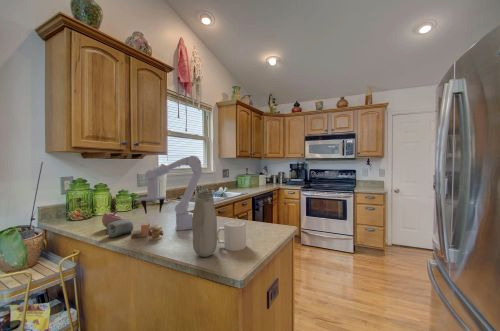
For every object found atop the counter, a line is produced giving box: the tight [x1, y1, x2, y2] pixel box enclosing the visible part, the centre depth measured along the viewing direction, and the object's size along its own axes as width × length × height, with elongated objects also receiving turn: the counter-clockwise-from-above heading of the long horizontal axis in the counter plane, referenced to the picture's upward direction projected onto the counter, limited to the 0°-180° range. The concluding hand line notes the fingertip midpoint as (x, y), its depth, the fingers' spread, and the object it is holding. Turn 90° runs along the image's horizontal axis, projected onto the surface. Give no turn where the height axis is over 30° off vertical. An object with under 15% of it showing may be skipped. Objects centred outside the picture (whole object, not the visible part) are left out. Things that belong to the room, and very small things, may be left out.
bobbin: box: [149, 224, 163, 241], centre depth 124 cm, size 6×6×6 cm
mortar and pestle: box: [101, 209, 126, 228], centre depth 142 cm, size 12×12×11 cm
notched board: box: [131, 227, 164, 239], centre depth 130 cm, size 15×7×2 cm, turn 113°
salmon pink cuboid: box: [140, 222, 151, 237], centre depth 129 cm, size 4×4×6 cm
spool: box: [105, 218, 134, 238], centre depth 130 cm, size 14×10×10 cm
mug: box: [217, 220, 247, 252], centre depth 110 cm, size 14×10×11 cm
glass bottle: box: [192, 188, 218, 258], centre depth 100 cm, size 10×10×28 cm
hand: (153, 212), depth 140 cm, fingers open, 7 cm apart
